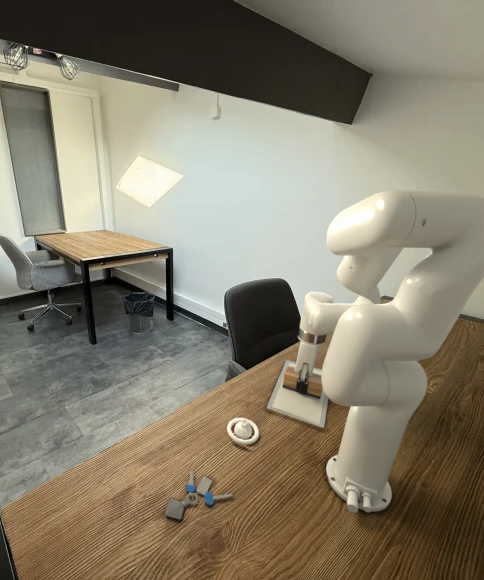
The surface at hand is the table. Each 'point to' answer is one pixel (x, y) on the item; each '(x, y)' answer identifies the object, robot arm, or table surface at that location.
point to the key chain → (177, 507)
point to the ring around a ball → (243, 431)
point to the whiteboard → (298, 401)
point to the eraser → (313, 381)
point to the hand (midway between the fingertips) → (302, 386)
